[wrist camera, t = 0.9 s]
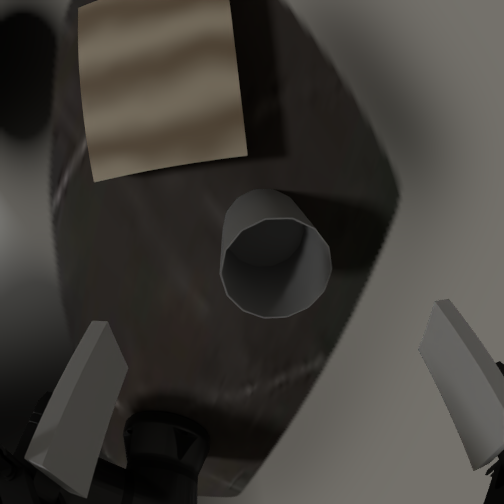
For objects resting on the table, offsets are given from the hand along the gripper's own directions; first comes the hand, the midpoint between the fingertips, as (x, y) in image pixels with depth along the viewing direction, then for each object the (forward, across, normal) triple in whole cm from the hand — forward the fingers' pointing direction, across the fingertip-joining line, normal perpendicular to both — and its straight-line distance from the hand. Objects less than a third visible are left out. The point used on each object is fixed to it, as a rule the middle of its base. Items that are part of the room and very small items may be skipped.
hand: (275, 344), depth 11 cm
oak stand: (+22, +9, -12) cm, 26 cm away
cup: (+21, 0, +4) cm, 22 cm away
